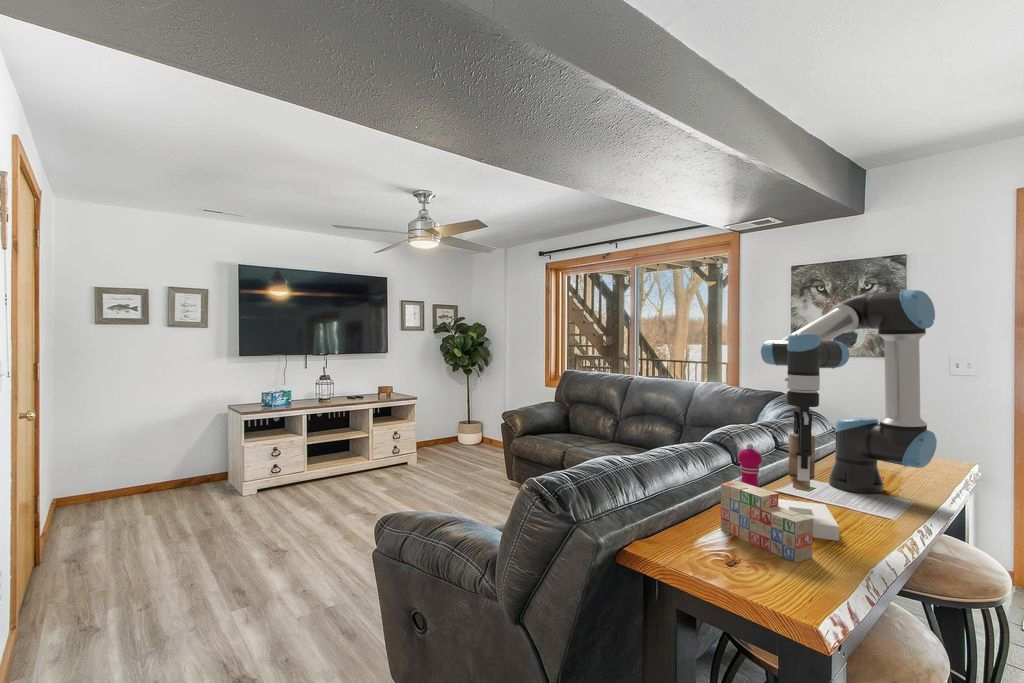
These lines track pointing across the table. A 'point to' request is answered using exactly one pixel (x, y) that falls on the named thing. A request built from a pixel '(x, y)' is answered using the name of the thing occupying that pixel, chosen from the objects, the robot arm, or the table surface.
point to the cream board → (815, 518)
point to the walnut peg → (794, 462)
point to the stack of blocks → (765, 521)
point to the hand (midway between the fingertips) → (801, 477)
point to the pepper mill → (749, 465)
